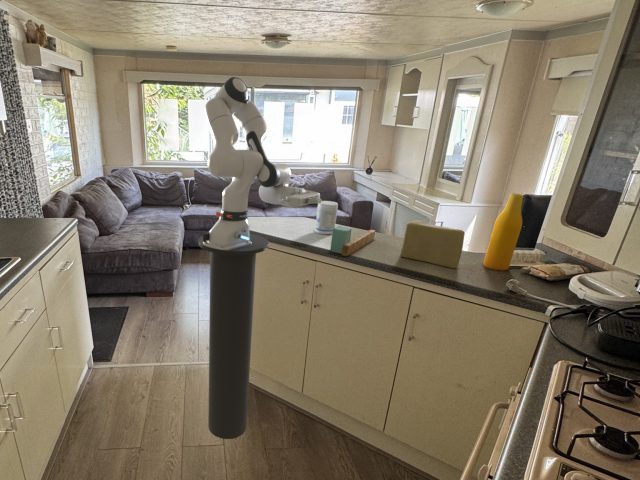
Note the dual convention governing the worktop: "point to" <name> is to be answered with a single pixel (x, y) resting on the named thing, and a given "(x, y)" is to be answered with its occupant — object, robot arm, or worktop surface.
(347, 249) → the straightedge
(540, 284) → the worktop surface
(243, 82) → the robot arm
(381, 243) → the worktop surface
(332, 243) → the teal block
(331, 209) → the supplement tub
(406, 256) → the cheese
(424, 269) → the worktop surface
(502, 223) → the beer bottle
